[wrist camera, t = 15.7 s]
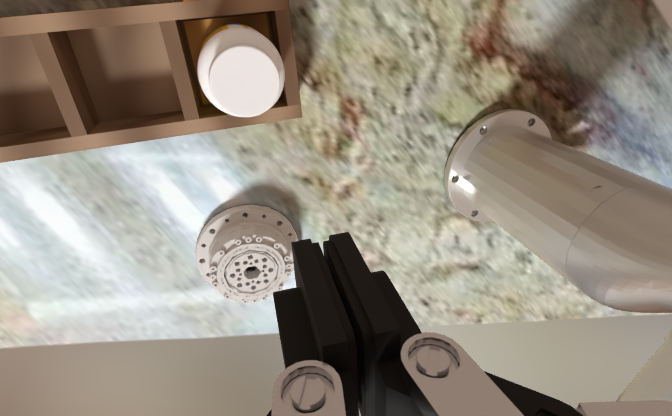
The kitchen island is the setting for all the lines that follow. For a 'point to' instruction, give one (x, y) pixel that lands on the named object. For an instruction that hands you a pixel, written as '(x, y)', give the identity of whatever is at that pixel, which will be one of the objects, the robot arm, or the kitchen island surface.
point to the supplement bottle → (240, 70)
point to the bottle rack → (124, 74)
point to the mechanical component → (246, 252)
